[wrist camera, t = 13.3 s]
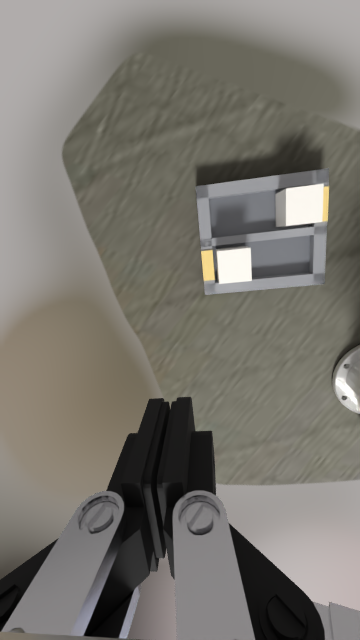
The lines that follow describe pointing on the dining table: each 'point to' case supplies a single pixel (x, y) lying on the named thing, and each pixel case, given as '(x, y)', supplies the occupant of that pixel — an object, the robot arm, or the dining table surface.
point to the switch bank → (261, 232)
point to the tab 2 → (299, 205)
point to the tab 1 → (234, 264)
